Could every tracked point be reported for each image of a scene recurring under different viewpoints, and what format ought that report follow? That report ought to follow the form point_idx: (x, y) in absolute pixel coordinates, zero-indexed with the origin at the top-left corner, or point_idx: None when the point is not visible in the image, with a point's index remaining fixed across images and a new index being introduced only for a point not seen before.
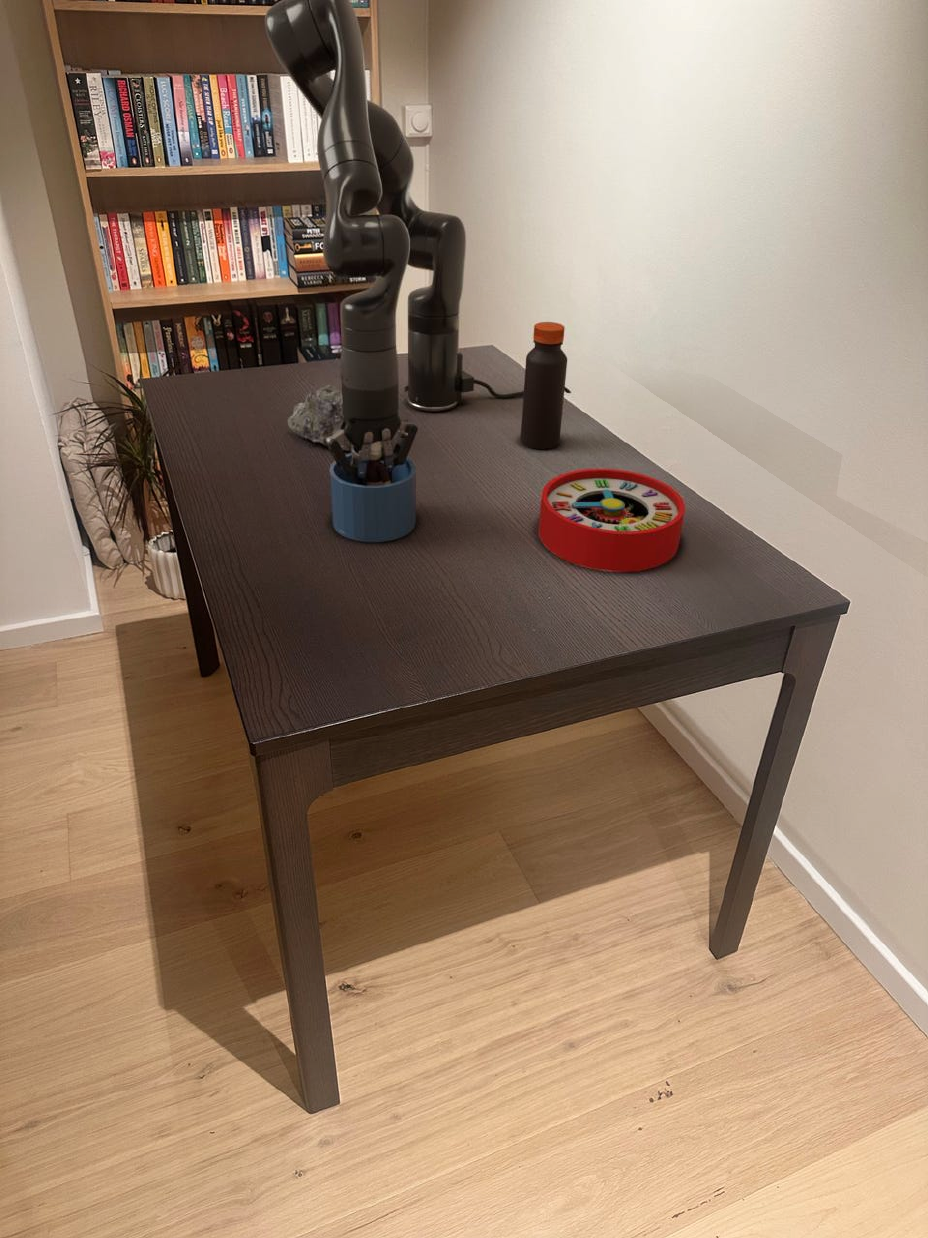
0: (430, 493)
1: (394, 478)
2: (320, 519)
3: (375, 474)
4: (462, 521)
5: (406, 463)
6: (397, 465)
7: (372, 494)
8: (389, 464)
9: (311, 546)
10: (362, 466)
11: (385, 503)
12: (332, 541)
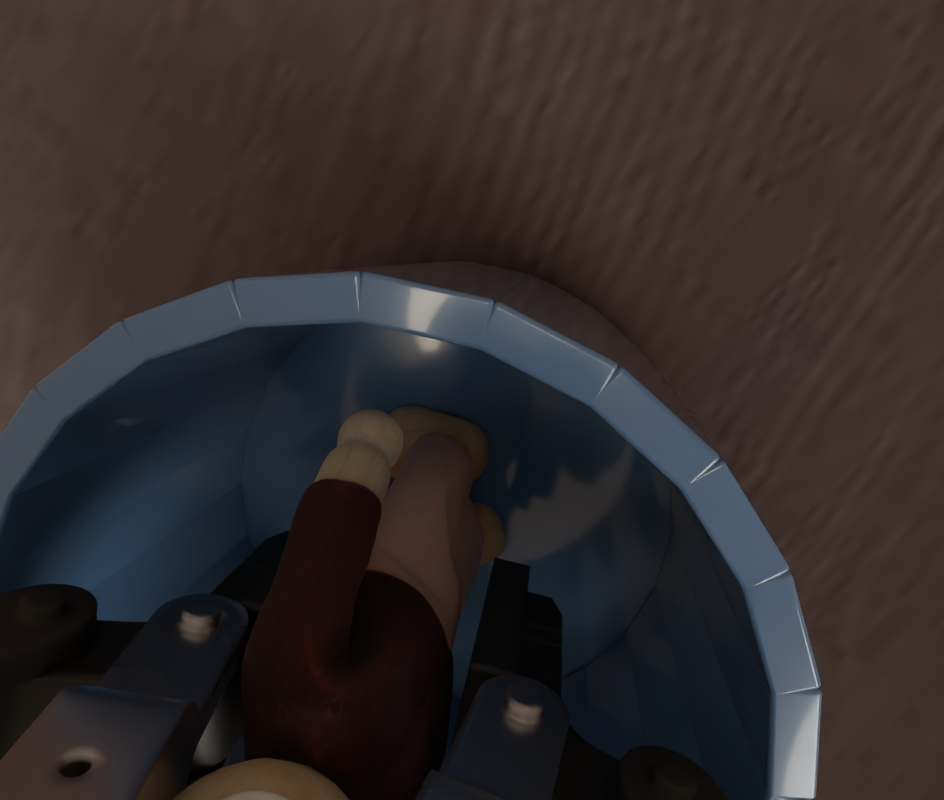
0: None
1: None
2: None
3: (393, 625)
4: (54, 186)
5: None
6: None
7: (639, 372)
8: (187, 641)
9: (910, 515)
10: (507, 765)
11: (527, 295)
12: (777, 482)
